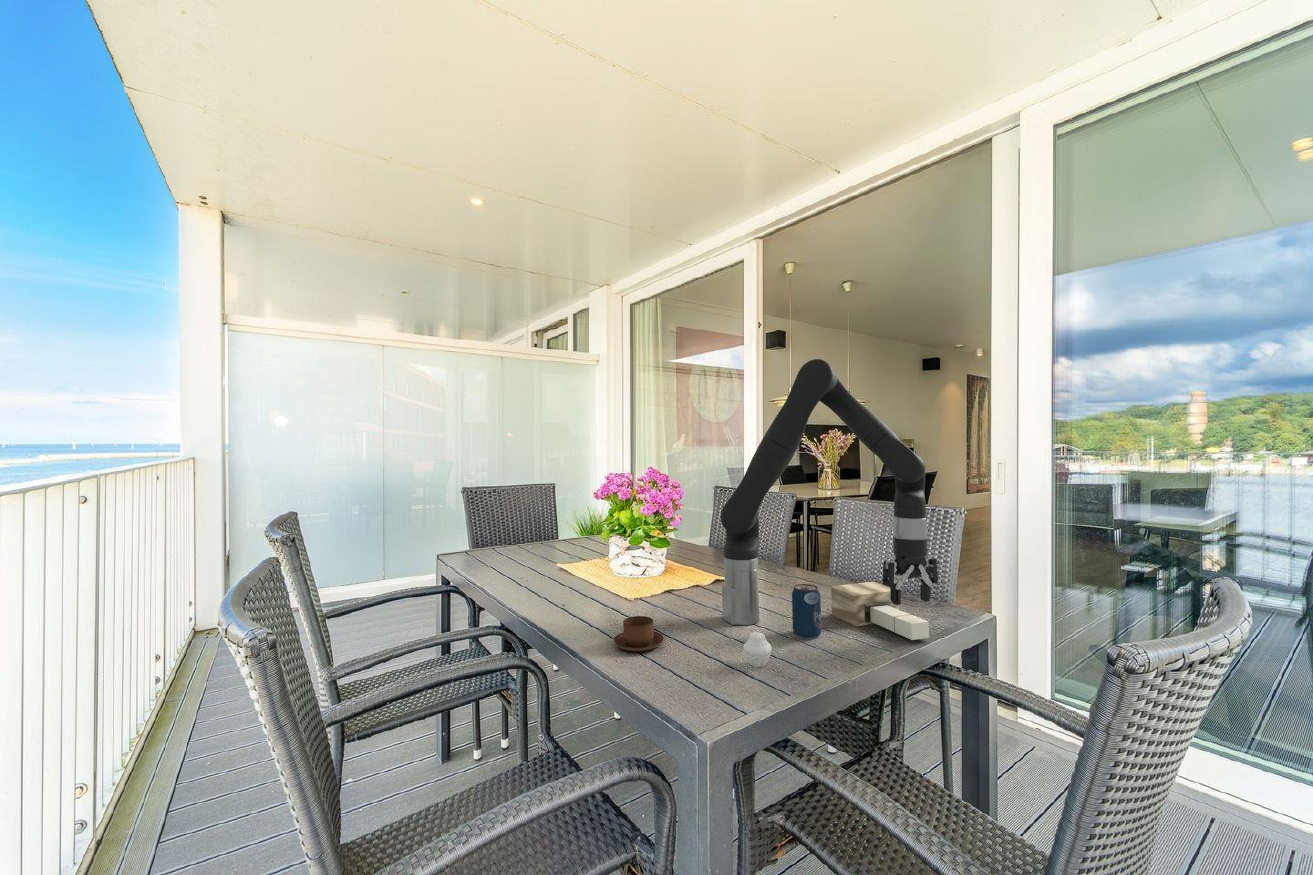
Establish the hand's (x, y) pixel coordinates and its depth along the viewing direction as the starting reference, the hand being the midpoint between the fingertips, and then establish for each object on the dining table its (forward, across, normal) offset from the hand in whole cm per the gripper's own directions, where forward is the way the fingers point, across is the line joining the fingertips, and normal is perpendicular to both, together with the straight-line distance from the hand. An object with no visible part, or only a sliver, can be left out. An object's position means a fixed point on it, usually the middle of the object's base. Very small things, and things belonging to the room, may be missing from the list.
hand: (910, 602), depth 128 cm
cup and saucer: (+10, +63, -19) cm, 67 cm away
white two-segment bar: (+8, 0, -5) cm, 9 cm away
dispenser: (+9, 0, -17) cm, 20 cm away
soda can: (+10, +22, -11) cm, 26 cm away
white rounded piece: (+10, +42, +1) cm, 43 cm away
